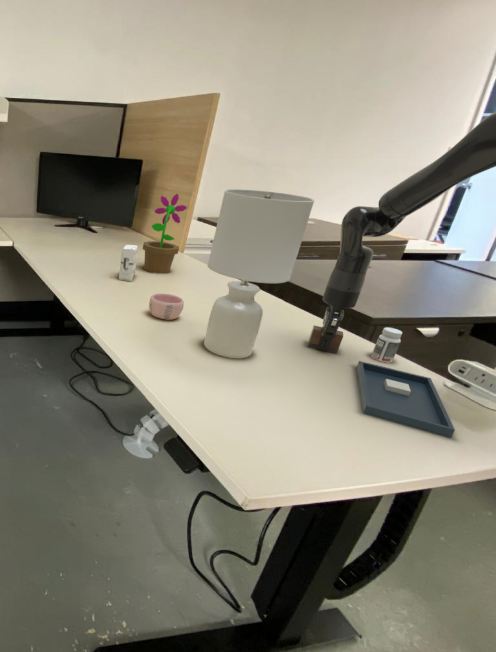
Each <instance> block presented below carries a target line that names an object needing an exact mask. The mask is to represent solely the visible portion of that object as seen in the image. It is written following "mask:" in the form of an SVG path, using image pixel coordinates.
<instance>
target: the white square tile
mask: <svg viewBox="0 0 496 652" xmlns="http://www.w3.org/2000/svg"><path fill="white" fill-rule="evenodd" d="M384 386H385V390H388V391H391V392H395V393H399V394H403V395H407V396H409V394H410V392H411V391H410V388H409V385H408V384H405V383H401V382H397V381H393V380H389V379H385V381H384Z"/></svg>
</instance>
